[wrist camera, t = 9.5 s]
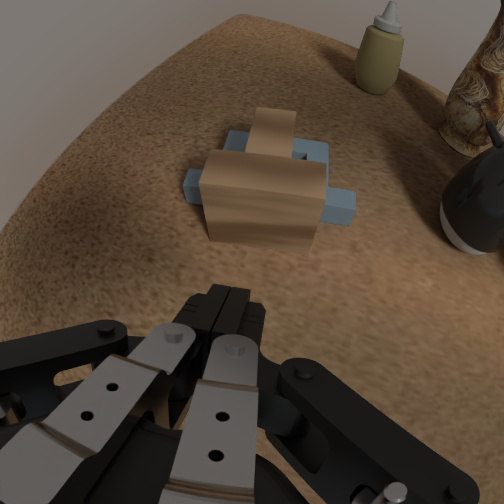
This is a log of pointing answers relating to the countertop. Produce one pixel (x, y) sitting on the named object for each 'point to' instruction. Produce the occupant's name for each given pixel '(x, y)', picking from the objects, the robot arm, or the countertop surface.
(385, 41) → the squeeze bottle
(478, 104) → the vase
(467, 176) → the roly-poly penguin toy
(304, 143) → the t socket
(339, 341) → the countertop surface
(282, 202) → the t block
